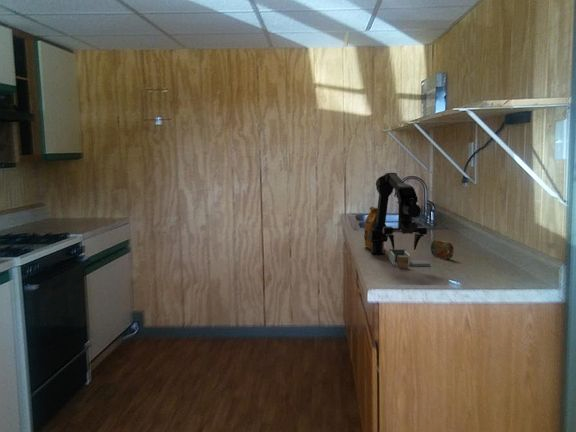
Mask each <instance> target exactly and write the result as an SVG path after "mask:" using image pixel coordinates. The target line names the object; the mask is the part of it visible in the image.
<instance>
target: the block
mask: <svg viewBox="0 0 576 432" xmlns="http://www.w3.org/2000/svg"><path fill="white" fill-rule="evenodd" d="M396 261H397V263H396V266H398V267H399V268H398V267H397V268H398V269H409V265H408V257H407V256H406V255H401V256H397V260H396Z"/></svg>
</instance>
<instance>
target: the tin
mask: <svg viewBox="0 0 576 432" xmlns="http://www.w3.org/2000/svg"><path fill="white" fill-rule="evenodd" d="M430 251H431V255H432V256H433V257H435V258H438V257H439V258H438V259H442V258H443V259H442V260H450V259H452V257H453V256H454V245H453V244H452V242H449V241H445V240H440V239H434V240H433V241H432V242H431V245H430Z"/></svg>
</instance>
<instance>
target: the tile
mask: <svg viewBox="0 0 576 432" xmlns="http://www.w3.org/2000/svg"><path fill="white" fill-rule="evenodd" d="M410 265H411V266H412V267H431V263H430V262H429V260H426V259H410Z"/></svg>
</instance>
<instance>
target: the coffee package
mask: <svg viewBox="0 0 576 432" xmlns="http://www.w3.org/2000/svg"><path fill="white" fill-rule="evenodd" d="M369 210H370V211H369V213H368V215H367V216H366V218H365V220H364V234H363V238H364V246H365V247H366V248H367V249H369V250H370V251H372V242H370V241H368V236H369V233H370V231H371V229H372V225H373V224H374V223H375V222H376V216H377V207H374V206H370V207H369ZM384 248H385V242H383V251H384V250H385V249H384Z"/></svg>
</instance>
